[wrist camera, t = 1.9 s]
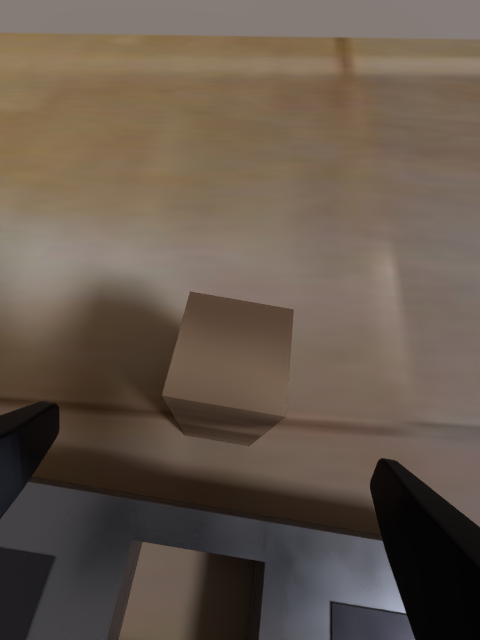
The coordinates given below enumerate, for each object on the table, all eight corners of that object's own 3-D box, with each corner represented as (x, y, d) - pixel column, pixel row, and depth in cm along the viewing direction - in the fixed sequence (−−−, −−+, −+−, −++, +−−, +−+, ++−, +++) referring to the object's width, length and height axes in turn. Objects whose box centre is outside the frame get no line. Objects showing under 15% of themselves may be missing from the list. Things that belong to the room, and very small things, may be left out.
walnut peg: (249, 445, 18) (285, 416, 10) (184, 435, 18) (161, 395, 10) (257, 382, 20) (293, 309, 11) (198, 372, 20) (190, 291, 11)
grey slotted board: (417, 541, 17) (457, 553, 14) (446, 802, 13) (512, 893, 10) (-8, 470, 17) (-51, 468, 14) (-125, 712, 12) (-220, 778, 10)
